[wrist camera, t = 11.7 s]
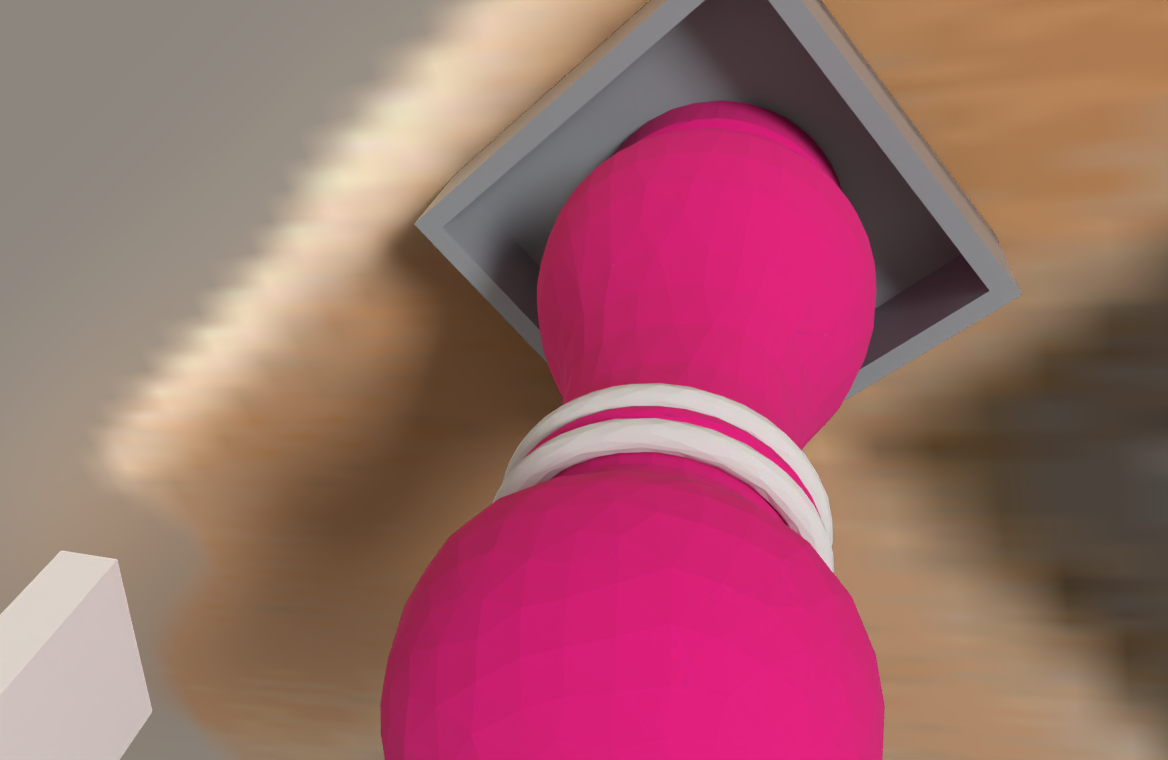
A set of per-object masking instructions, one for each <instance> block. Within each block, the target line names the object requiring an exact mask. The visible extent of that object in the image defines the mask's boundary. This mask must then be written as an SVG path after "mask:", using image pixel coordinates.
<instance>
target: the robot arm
mask: <svg viewBox="0 0 1168 760" xmlns="http://www.w3.org/2000/svg"><path fill="white" fill-rule="evenodd" d="M151 713H152V708H151V704H150V699H149V695H148V690H147V686H146V681H145V677H144V673H143V668H142V664H141V660H140V655H139V651H138V647H137V642H136V638H135V634H134V629H133V625H132V621H131V616H130V613H129V608H128V604H127V599H126V595H125V590H124V586H123V582H122V577H121V573H120V569H119V565H118V560H117V559H112V558H105V557H100V556H93V555H86V554H81V553H74V552H68V551H60V552H59V553H58V554H57V555H56V556H55V558H54V559H53V560H52V561H51V562H50V563H49V564H48V565H47V566H46V567H45V568H44V569H43V570H42V571H41V572H40V573H39V575H38V576H37V577H35V579H34V580H33V581H32V582H31V583H30V584H29V585H28V586H27V587H26V588H25V589H24V590H23V591H22V592H21V593H20V594H19V595H18V596H17V598H16V599H15V600H14V601H13V602H12V603H11V604H10V605H9V606H8V607H7V608H6V609H5V610H4V611H3V612H2V613H1V614H0V760H120V758H121V757H122V756H123V754H124V753H125V751H126V750H127V748H128V747H129V745H130V744H131V742H132V741H133V739H134V738H135V736H136V735H137V734H138V732H139V731H140V729H141V727H142V726H143V725H144V723H145V722H146V720H147V719H148V717H149V716H150V714H151Z"/></svg>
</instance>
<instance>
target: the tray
mask: <svg viewBox="0 0 1168 760" xmlns="http://www.w3.org/2000/svg"><path fill="white" fill-rule="evenodd" d="M720 100H722V101H734V102H743V103H747V104H751V105H756V106H759V107H762V108H765V109H768V110H770V111H773V112H775V113H777V114H779V115H781V116H783V117H785V118H787V119H788V120H790V121H791V122H793V123H794V124H796V125H797V126H798V127H800V128H801V129H802V130H803V131H804V132H805V133H807V134H808V135H809V136H810V137H811V138H812V139H813V140H814V141H815V142H816V143H817V145H818V146H819V147H820V148H821V149H822V151H823V152H824V154H825V155H826V157H827V158H828V160H829V161H830V163H831V164H832V167H833V169H834V171H835V173H836V175H837V178H838V180H839V183H840V187H841V190H842V192H843V193H844V195H845V196H846V197H847V198H848V200H849V201H850V203H851V204H852V206H853V208H854V209H855V211H856V213H857V214H858V217H859V219H860V221H861V223H862V225H863V227H864V230H865V232H866V234H867V236H868V239H869V243H870V246H871V250H872V254H873V258H874V262H875V275H876V300H875V313H874V327H873V332H872V335H871V339H870V343H869V346H868V350H867V354H866V357H865V360H864V362H863V364H862V366H861V368H860V370H859V372H858V374H857V376H856V378H855V380H854V383H853V385H852V387H851V389H850V391H849V392H848V394H847V396H846V397H845V399H844V400H846V399H848V398H849V397H851V396H853V395H854V394H856V393H858V392H859V391H861V390H863V389H864V388H866V387H868V386H870V385H871V384H873V383H875V382H876V381H878V380H880V379H881V378H883V377H885V376H886V375H888V374H890V373H891V372H893V371H895V370H896V369H898V368H900V367H901V366H903V365H905V364H906V363H908V362H910V361H912V360H913V359H915V358H917V357H918V356H920V355H922V354H923V353H925V352H927V351H928V350H930V349H932V348H933V347H935V346H937V345H938V344H940V343H942V342H943V341H945V340H947V339H949V338H950V337H952V336H954V335H955V334H957V333H959V332H960V331H962V330H964V329H965V328H967V327H969V326H970V325H972V324H974V323H975V322H977V321H979V320H980V319H982V318H984V317H986V316H987V315H989V314H991V313H992V312H994V311H996V310H997V309H999V308H1001V307H1002V306H1004V305H1006V304H1007V303H1009V302H1011V301H1012V300H1014V299H1016V298H1017V297H1019V296H1021V295H1022V293H1021V291H1020V288H1019V286H1018V284H1017V282H1016V279H1015V277H1014V275H1013V273H1012V270H1011V268H1010V266H1009V264H1008V262H1007V259H1006V257H1005V255H1004V253H1003V250H1002V248H1001V246H1000V244H999V242H998V239H997V237H996V235H995V233H994V232H993V231H992V229H991V228H990V227H989V225H988V224H987V223H986V221H985V220H984V219H983V217H982V216H981V215H980V213H979V212H978V211H977V209H976V208H975V207H974V205H973V204H972V203H971V201H970V200H969V198H968V197H967V196H966V194H965V193H964V192H963V190H962V189H961V188H960V186H959V185H958V184H957V182H956V181H955V180H954V178H953V177H952V176H951V174H950V173H949V172H948V170H947V169H946V168H945V166H944V165H943V164H942V162H941V161H940V159H939V158H938V157H937V155H936V154H935V153H934V151H933V150H932V149H931V147H930V146H929V145H928V143H927V142H926V141H925V139H924V138H923V137H922V135H921V134H920V133H919V131H918V130H917V129H916V127H915V126H914V125H913V123H912V122H911V120H910V119H909V118H908V116H907V115H906V114H905V112H904V111H903V110H902V108H901V107H900V106H899V104H898V103H897V102H896V100H895V99H894V98H893V96H892V95H891V94H890V92H889V91H888V90H887V88H886V87H885V86H884V84H883V83H882V81H881V80H880V79H879V77H878V76H877V75H876V73H875V72H874V71H873V69H872V68H871V67H870V65H869V64H868V63H867V61H866V60H865V59H864V57H863V56H862V55H861V53H860V52H859V51H858V49H857V48H856V47H855V45H854V44H853V42H852V41H851V40H850V38H849V37H848V36H847V34H846V33H845V32H844V30H843V29H842V28H841V26H840V25H839V24H838V22H837V21H836V20H835V18H834V17H833V16H832V14H831V13H830V12H829V10H828V9H827V8H826V6H825V5H824V3H823V2H822V1H821V0H650V1H649V2H648V3H647V4H646V5H645V6H643V7H642V8H641V9H640V10H639V11H638V12H637V13H636V14H634V15H633V16H632V17H631V18H630V19H629V20H628V21H627V22H625V23H624V24H623V25H622V26H621V27H620V28H619V29H618V30H617V31H615V32H614V33H613V34H612V35H611V36H610V37H609V38H608V39H606V40H605V41H604V42H603V43H602V44H601V45H600V46H599V47H597V48H596V49H595V50H594V51H593V52H592V53H591V54H590V55H588V56H587V57H586V58H585V59H584V60H583V61H582V62H581V63H580V64H578V65H577V66H576V67H575V68H574V69H573V70H572V71H571V72H569V73H568V74H567V75H566V76H565V77H564V78H563V79H562V80H560V81H559V82H558V83H557V84H556V85H555V86H554V87H553V88H552V89H550V90H549V91H548V92H547V93H546V94H545V95H544V96H543V97H541V98H540V99H539V100H538V101H537V102H536V103H535V104H534V105H532V106H531V107H530V108H529V109H528V110H527V111H526V112H525V113H524V114H522V115H521V116H520V117H519V118H518V119H517V120H516V121H515V122H513V123H512V124H511V125H510V126H509V127H508V128H507V129H506V130H504V131H503V132H502V133H501V134H500V135H499V136H498V137H497V138H496V139H494V140H493V141H492V142H491V143H490V144H489V145H488V146H487V147H485V148H484V149H483V150H482V151H481V152H480V153H479V154H478V155H476V156H475V157H474V158H473V159H472V160H471V161H470V162H469V163H468V164H466V165H465V166H464V167H463V168H462V169H461V170H460V171H459V172H457V173H456V174H455V175H454V176H453V177H452V179H451V180H450V181H449V182H448V183H447V185H446V186H445V187H444V188H443V190H442V191H441V192H440V193H439V194H438V196H437V197H436V198H435V199H434V200H433V202H432V203H431V204H430V205H429V206H428V208H427V209H426V210H425V211H424V213H423V214H422V215H421V216H420V217H419V219H418V220H417V221H416V222H415V223H414V225H415V226H416V227H417V228H418V229H419V230H420V231H421V232H422V233H423V234H424V235H425V236H426V237H427V238H428V239H429V240H430V241H431V243H432V244H433V245H434V246H435V247H436V248H437V249H438V250H439V251H440V252H441V253H442V254H443V255H444V256H445V257H446V258H447V259H448V260H449V261H450V262H451V263H452V264H453V265H454V267H455V268H456V269H457V270H458V271H459V272H460V273H461V274H462V275H463V276H464V277H465V278H466V279H467V280H468V281H469V282H470V283H471V284H472V285H473V286H474V287H475V288H476V289H477V291H478V292H479V293H480V294H481V295H482V296H483V297H484V298H485V299H486V300H487V301H488V302H489V303H490V304H491V305H492V306H493V307H494V308H495V309H496V310H497V311H498V312H499V314H500V315H501V316H502V317H503V318H504V319H505V320H506V321H507V322H508V323H509V324H510V325H511V326H512V327H513V328H514V329H515V330H516V331H517V332H518V333H519V334H520V335H521V336H522V338H523V339H524V340H525V341H526V342H527V343H528V344H529V345H530V346H531V347H532V348H533V349H534V350H535V351H536V352H537V353H538V354H539V355H540V356H541V357H542V358H543V359H544V360H545V362H546V363H547V360H546V357H545V354H544V352H543V346H542V340H541V334H540V327H539V319H538V311H537V283H538V277H539V271H540V266H541V261H542V258H543V254H544V251H545V248H546V245H547V242H548V238H549V235H550V233H551V231H552V229H553V226H554V224H555V222H556V220H557V218H558V215H559V213H560V211H561V209H562V207H563V206H564V204H565V203H566V202H567V200H568V199H569V197H570V196H571V194H572V193H573V192H574V190H575V189H576V188H577V187H578V186H579V185H580V184H581V182H582V181H583V180H584V179H585V178H586V177H587V176H588V175H589V174H590V173H591V172H592V171H593V170H594V169H596V168H597V167H598V166H599V165H600V164H602V163H603V162H605V161H606V160H607V159H609V158H610V157H612V156H613V155H614V154H615V153H616V151H617V150H618V149H619V148H620V147H621V145H622V144H623V143H624V142H625V141H626V139H627V138H628V137H629V136H630V135H631V134H633V133H634V132H635V131H637V130H638V129H639V128H640V127H642V126H643V125H644V124H645V123H647V122H648V121H650V120H652V119H654V118H656V117H658V116H660V115H662V114H663V113H665V112H667V111H669V110H671V109H674V108H678V107H682V106H685V105H689V104H693V103H699V102H710V101H720ZM547 364H548V363H547Z"/></svg>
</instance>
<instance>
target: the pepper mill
mask: <svg viewBox="0 0 1168 760" xmlns="http://www.w3.org/2000/svg"><path fill="white" fill-rule="evenodd" d="M875 300H876V275H875V262H874V258H873V254H872V250H871V246H870V243H869V239H868V236H867V234H866V232H865V230H864V227H863V225H862V223H861V221H860V219H859V217H858V214H857V213H856V211H855V209H854V208H853V206H852V204H851V203H850V201H849V200H848V198H847V197H846V196H845V195H844V193H843V192H842V190H841V187H840V183H839V180H838V178H837V175H836V173H835V171H834V169H833V167H832V164H831V163H830V161H829V160H828V158H827V157H826V155H825V154H824V152H823V151H822V149H821V148H820V147H819V146H818V145H817V143H816V142H815V141H814V140H813V139H812V138H811V137H810V136H809V135H808V134H807V133H805V132H804V131H803V130H802V129H801V128H800V127H798V126H797V125H796V124H794V123H793V122H791V121H790V120H788V119H787V118H785V117H783V116H781V115H779V114H777V113H775V112H773V111H770V110H768V109H765V108H762V107H759V106H756V105H751V104H747V103H743V102H734V101H722V100H720V101H710V102H699V103H693V104H689V105H685V106H682V107H678V108H674V109H671V110H669V111H667V112H665V113H663V114H662V115H660V116H658V117H656V118H654V119H652V120H650V121H648V122H647V123H645V124H644V125H643V126H642V127H640V128H639V129H638V130H637V131H635V132H634V133H633V134H631V135H630V136H629V137H628V138H627V139H626V141H625V142H624V143H623V144H622V145H621V147H620V148H619V149H618V150H617V151H616V153H615V154H614V155H613V156H612V157H610V158H609V159H607V160H606V161H605V162H603V163H602V164H600V165H599V166H598V167H597V168H596V169H594V170H593V171H592V172H591V173H590V174H589V175H588V176H587V177H586V178H585V179H584V180H583V181H582V182H581V184H580V185H579V186H578V187H577V188H576V189H575V190H574V192H573V193H572V194H571V196H570V197H569V199H568V200H567V202H566V203H565V204H564V206H563V207H562V209H561V211H560V213H559V215H558V218H557V220H556V222H555V224H554V226H553V229H552V231H551V233H550V235H549V238H548V242H547V245H546V248H545V251H544V254H543V258H542V261H541V266H540V271H539V277H538V283H537V311H538V319H539V327H540V334H541V340H542V346H543V352H544V354H545V357H546V360H547V363H548V366H549V369H550V371H551V374H552V377H553V379H554V381H555V383H556V386H557V388H558V390H559V392H560V394H561V396H562V398H563V403H562V406H560V407H559V408H557V409H556V410H554V411H553V412H551V413H550V414H548V415H547V416H545V417H544V418H543V419H542V420H541V421H540V422H539V423H538V424H537V425H536V426H535V427H534V428H533V429H531V430H530V432H529V433H528V434H527V435H526V436H525V438H524V439H523V440H522V441H521V442H520V444H519V445H518V447H517V449H516V451H515V452H514V454H513V456H512V458H511V459H510V462H509V464H508V467H507V469H506V472H505V475H504V479H503V483H502V485H501V487H500V488H499V490H498V491H497V493H496V495H495V497H494V500H493V502H492V504H491V505H490V506H488V507H487V508H486V509H484V510H483V511H482V512H481V513H479V514H478V515H477V516H475V517H474V518H473V519H471V520H470V521H469V522H467V523H466V524H465V525H463V526H462V527H461V528H460V529H458V530H457V531H456V532H455V533H453V534H452V535H451V536H450V537H449V538H448V539H447V541H446V542H445V544H444V545H443V546H442V548H441V549H440V550H439V552H438V553H437V555H436V556H435V557H434V559H433V560H432V562H431V563H430V564H429V566H428V567H427V568H426V570H425V571H424V573H423V575H422V577H421V578H420V580H419V582H418V583H417V585H416V587H415V589H414V590H413V592H412V594H411V596H410V597H409V599H408V601H407V602H406V604H405V607H404V610H403V613H402V616H401V619H400V622H399V625H398V628H397V631H396V635H395V638H394V641H393V645H392V648H391V651H390V655H389V658H388V662H387V668H386V673H385V678H384V684H383V691H382V698H381V737H382V743H383V749H384V756H385V760H882V756H883V731H884V700H883V694H882V689H881V683H880V677H879V671H878V666H877V660H876V654H875V652H874V649H873V647H872V645H871V642H870V640H869V637H868V635H867V633H866V630H865V628H864V625H863V623H862V620H861V618H860V616H859V613H858V611H857V608H856V606H855V604H854V601H853V599H852V597H851V595H850V594H849V593H848V591H847V590H846V589H845V587H844V586H843V585H842V584H841V582H840V581H839V580H838V578H837V577H836V576H835V575H834V564H833V552H832V543H833V531H832V517H831V511H830V506H829V500H828V496H827V494H826V492H825V489H824V487H823V485H822V483H821V480H820V478H819V476H818V474H817V472H816V471H815V469H814V468H813V466H812V464H811V463H810V461H809V460H808V458H807V457H806V455H805V454H804V452H803V451H802V449H803V448H804V447H805V445H806V444H807V443H808V442H809V441H810V439H811V438H812V437H813V436H814V435H815V434H816V433H817V432H818V431H819V430H820V429H821V428H822V427H823V426H824V425H825V424H826V423H827V422H828V421H829V420H830V418H831V417H832V416H833V415H834V414H835V413H836V411H837V410H838V409H839V407H840V406H841V404H842V402H843V401H844V399H845V397H846V396H847V394H848V392H849V391H850V389H851V387H852V385H853V383H854V380H855V378H856V376H857V374H858V372H859V370H860V368H861V366H862V364H863V362H864V360H865V357H866V354H867V350H868V346H869V343H870V339H871V335H872V332H873V327H874V313H875Z"/></svg>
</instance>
